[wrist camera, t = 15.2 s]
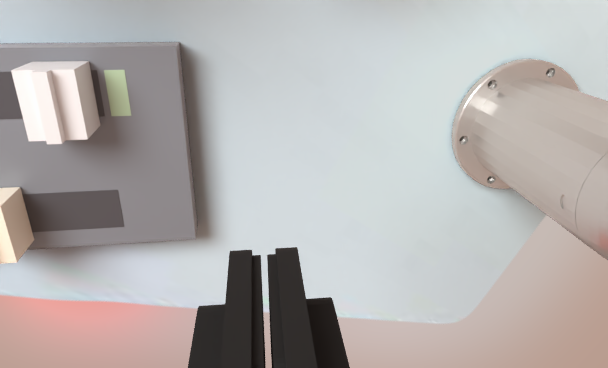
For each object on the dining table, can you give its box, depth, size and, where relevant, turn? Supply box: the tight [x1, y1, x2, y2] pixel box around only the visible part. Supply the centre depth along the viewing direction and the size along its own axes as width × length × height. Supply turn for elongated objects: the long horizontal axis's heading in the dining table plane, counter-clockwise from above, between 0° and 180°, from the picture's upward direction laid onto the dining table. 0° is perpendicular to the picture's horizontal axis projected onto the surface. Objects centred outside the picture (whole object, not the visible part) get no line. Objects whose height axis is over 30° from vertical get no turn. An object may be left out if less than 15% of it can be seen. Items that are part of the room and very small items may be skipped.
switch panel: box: [0, 42, 198, 250], centre depth 38 cm, size 24×17×2 cm
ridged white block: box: [11, 61, 100, 144], centre depth 33 cm, size 4×5×4 cm
